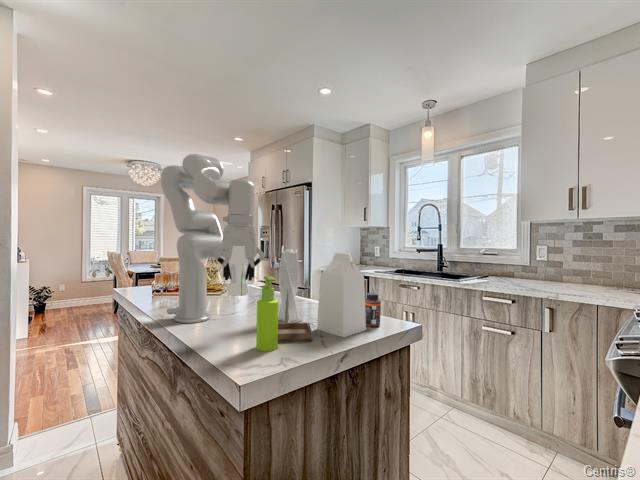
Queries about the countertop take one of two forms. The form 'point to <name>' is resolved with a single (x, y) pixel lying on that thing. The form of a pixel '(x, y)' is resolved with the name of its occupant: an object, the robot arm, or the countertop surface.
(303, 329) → the walnut tray
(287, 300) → the skyscraper
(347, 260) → the milk
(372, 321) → the supplement bottle
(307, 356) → the countertop surface
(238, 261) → the beer glass
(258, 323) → the soap dispenser
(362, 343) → the countertop surface
